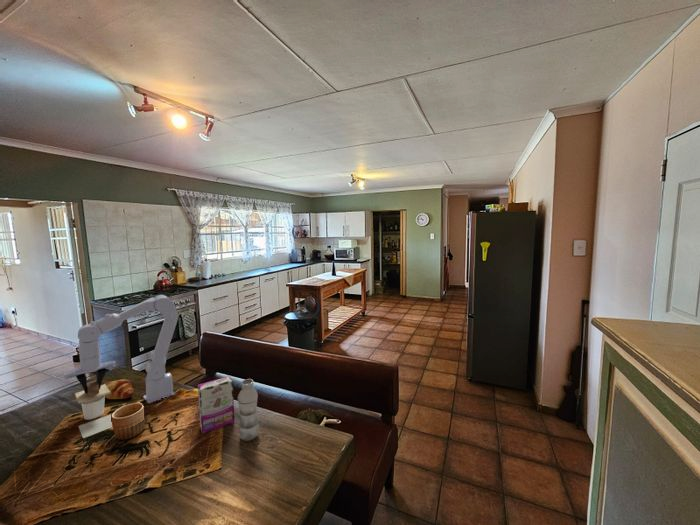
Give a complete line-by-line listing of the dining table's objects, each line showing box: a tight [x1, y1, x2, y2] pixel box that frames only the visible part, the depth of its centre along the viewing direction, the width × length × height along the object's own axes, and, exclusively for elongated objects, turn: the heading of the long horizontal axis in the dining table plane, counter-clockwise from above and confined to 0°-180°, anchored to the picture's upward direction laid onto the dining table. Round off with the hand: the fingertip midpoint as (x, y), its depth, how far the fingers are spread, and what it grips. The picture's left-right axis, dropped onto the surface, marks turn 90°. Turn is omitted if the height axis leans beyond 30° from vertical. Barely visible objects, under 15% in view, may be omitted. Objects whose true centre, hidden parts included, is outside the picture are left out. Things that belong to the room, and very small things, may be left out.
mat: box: [77, 413, 113, 439], centre depth 104 cm, size 10×10×1 cm
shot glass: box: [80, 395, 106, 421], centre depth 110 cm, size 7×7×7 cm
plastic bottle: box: [237, 378, 260, 442], centre depth 98 cm, size 6×7×20 cm
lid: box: [74, 379, 110, 404], centre depth 109 cm, size 9×9×4 cm
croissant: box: [102, 379, 134, 400], centre depth 125 cm, size 21×10×8 cm, turn 68°
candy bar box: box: [197, 375, 235, 435], centre depth 104 cm, size 11×5×16 cm, turn 126°
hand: (92, 390), depth 109 cm, fingers closed on lid, 3 cm apart
